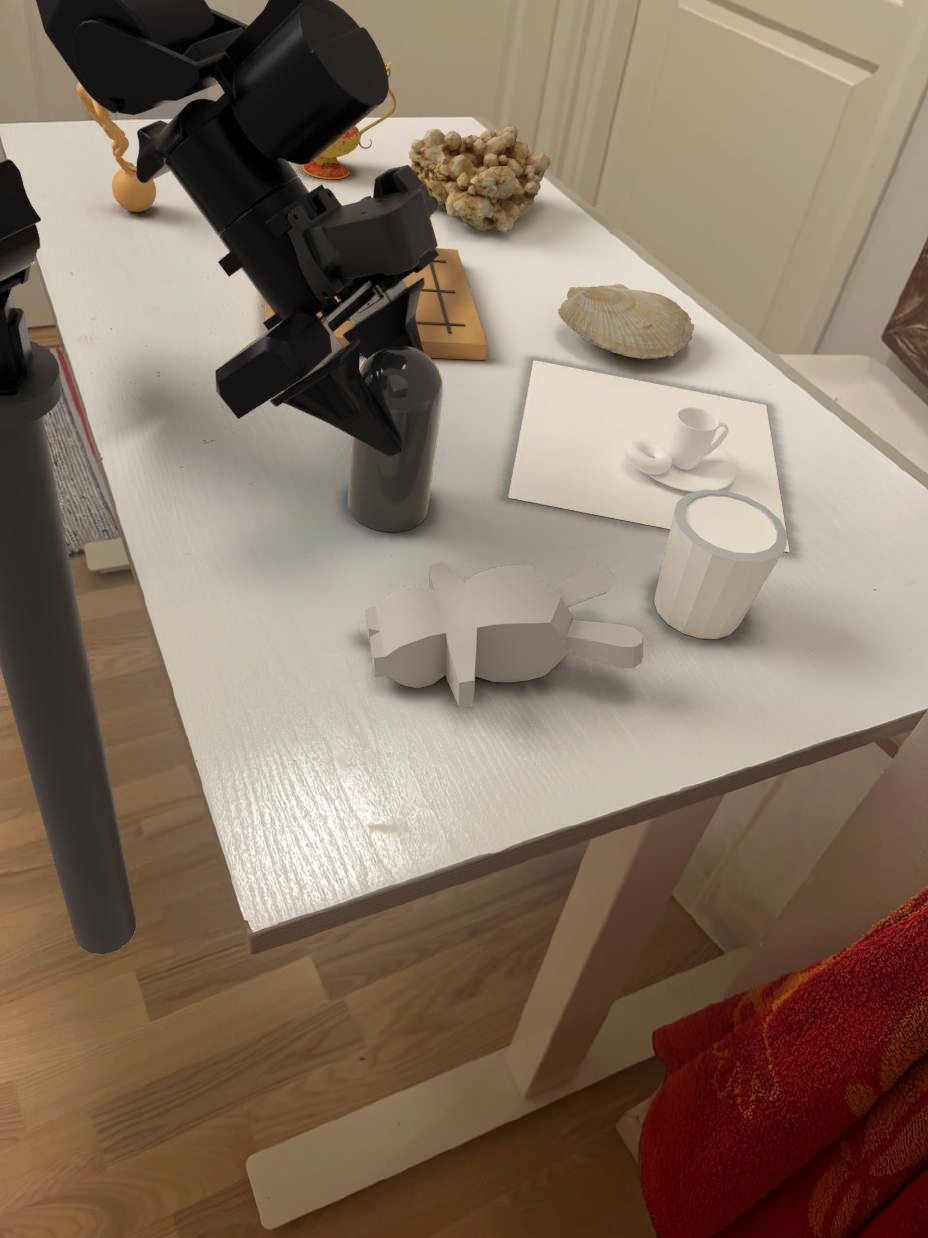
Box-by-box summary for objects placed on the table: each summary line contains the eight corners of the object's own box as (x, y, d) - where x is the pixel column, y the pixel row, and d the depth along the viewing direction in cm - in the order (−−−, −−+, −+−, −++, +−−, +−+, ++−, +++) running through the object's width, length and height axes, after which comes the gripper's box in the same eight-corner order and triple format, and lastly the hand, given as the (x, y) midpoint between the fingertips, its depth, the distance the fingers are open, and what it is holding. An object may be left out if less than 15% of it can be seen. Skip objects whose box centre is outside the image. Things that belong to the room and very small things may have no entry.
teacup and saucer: (619, 483, 73) (633, 436, 70) (621, 425, 78) (634, 379, 76) (737, 506, 72) (756, 459, 70) (731, 446, 78) (748, 401, 75)
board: (265, 350, 80) (265, 332, 78) (264, 251, 92) (264, 234, 91) (485, 360, 83) (488, 343, 82) (455, 264, 96) (457, 247, 95)
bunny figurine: (357, 554, 57) (608, 525, 59) (362, 617, 61) (598, 587, 63) (379, 676, 50) (661, 638, 53) (383, 739, 54) (647, 700, 56)
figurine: (166, 227, 93) (155, 88, 85) (99, 230, 91) (81, 88, 83) (148, 191, 98) (137, 57, 90) (84, 193, 96) (67, 56, 88)
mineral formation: (390, 193, 106) (501, 168, 113) (462, 265, 100) (573, 235, 107) (400, 119, 99) (516, 97, 106) (477, 192, 94) (595, 165, 101)
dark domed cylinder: (350, 531, 65) (361, 372, 57) (345, 482, 68) (354, 325, 60) (432, 532, 66) (454, 376, 58) (422, 483, 69) (442, 330, 61)
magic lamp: (221, 156, 107) (217, 42, 100) (383, 159, 113) (390, 51, 105) (232, 181, 103) (228, 64, 95) (399, 183, 108) (408, 72, 101)
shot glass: (671, 652, 60) (705, 565, 56) (627, 577, 65) (655, 491, 60) (768, 640, 62) (810, 555, 58) (719, 568, 67) (754, 484, 62)
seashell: (665, 388, 84) (675, 357, 82) (536, 345, 86) (542, 314, 84) (696, 334, 92) (706, 304, 90) (578, 296, 94) (584, 266, 92)
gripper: (263, 180, 45) (456, 457, 51) (424, 86, 58) (563, 314, 64) (131, 293, 52) (313, 527, 58) (302, 186, 65) (437, 385, 71)
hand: (416, 430), depth 62 cm, fingers closed on dark domed cylinder, 5 cm apart
